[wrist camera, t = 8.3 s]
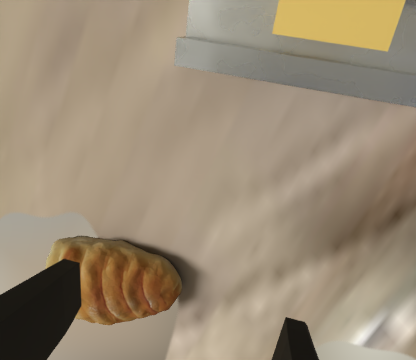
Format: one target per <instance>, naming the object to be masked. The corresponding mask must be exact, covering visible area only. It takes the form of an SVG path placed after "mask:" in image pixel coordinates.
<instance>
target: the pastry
mask: <svg viewBox="0 0 416 360" xmlns="http://www.w3.org/2000/svg"><path fill="white" fill-rule="evenodd" d="M62 259H67V260H71V261H75V262H79V263H80V280H81V303H82V306H81V308H80V309H79V311H78V313H77V315H76V317H75V318H76V319H83V320H86V321H88V322H91V323H95V322H97V323H99V324H103V325H112V324H115V323H120V322H125V321H132V320H134V319H136V318H144V317H147V316H150V315H156V314H157V313H159V312H162V311H166V310H168V309H169V308H170V307H171V306H172V304H173V303H174V302H175V300H176V299H177V297H178V296H179V295H180V293H181V291H182V282H181V278H180V276H179V274H178V273H177V271H176V270H175V268H174V267H173V266H172V264H171V263H170V262H169V261H168V260H167V259H165V258H163V257H162V256H160V255H157V254H151V253H148V252H146V251H144V250H142V249H140V248H137V247H135V246H133V245H132V244H130V243H128V242H126V241H123V240H119V241H112V240H107V239H99V237H98V238H93V237H89V236H76V237H73V238H70V237H69V238H64V239H59V240H57V241H56V242H55V243H54V244H53V245H52V247H51V251H50V254H49V256H48V258H47V260H46V268H45V269H47V268H48V267H50V266H52V265H53V264H55V263H57V262H59V261H61V260H62Z"/></svg>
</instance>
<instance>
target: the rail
mask: <svg viewBox="0 0 416 360" xmlns="http://www.w3.org/2000/svg"><path fill="white" fill-rule="evenodd" d="M278 2H279V0H189V8H188V18H187V29H186V36H185V37H177V40H176V51H175V63H174V66H180V67H186V68H192V69H198V70H203V71H209V72H215V73H221V74H226V75H232V76H238V77H244V78H250V79H255V80H261V81H267V82H273V83H279V84H284V85H290V86H296V87H302V88H307V89H313V90H319V91H325V92H331V93H336V94H342V95H348V96H354V97H359V98H365V99H371V100H377V101H383V102H388V103H394V104H400V105H406V106H411V107H416V0H406V1H405V4H404V6H403V9H402V12H401V15H400V18H399V21H398V24H397V27H396V29H395V32H394V35H393V38H392V41H391V44H390V47H389V50H388V52H387V51H381V50H374V49H368V48H361V47H355V46H348V45H342V44H335V43H329V42H322V41H316V40H309V39H303V38H296V37H290V36H284V35H277V34H272V32H273V27H274V22H275V17H276V12H277V7H278Z"/></svg>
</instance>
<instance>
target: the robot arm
mask: <svg viewBox="0 0 416 360" xmlns="http://www.w3.org/2000/svg"><path fill="white" fill-rule="evenodd" d="M81 306H82V303H81V280H80V263H79V262H75V261H71V260H67V259H62V260H61V261H59V262H57V263H55V264H53V265H52V266H50V267H48V268H47V269H45V270H43V271H42V272H40V273H38V274H36V275H35V276H33V277H31V278H29V279H28V280H26V281H24V282H22V283H21V284H19V285H17V286H15V287H14V288H12V289H10V290H8V291H6V292H5V293H3V294H1V295H0V360H47V358H48V357H49V356H50V354H51V353H52V351H53V350H54V349H55V347H56V346H57V345H58V343H59V342H60V340H61V339H62V338H63V336H64V335H65V334H66V332H67V330H68V329H69V327H70V325H71V323H72V322H73V320H74V318H75V317H76V315H77V313H78V311H79V309H80V308H81ZM272 360H319V359H318V356H317V353H316V350H315V348H314V345H313V342H312V339H311V336H310V333H309V330H308V326H307V325H306V323H305V322H302V321H298V320H295V319H291V318H287V317H286V318H285V321H284V324H283V327H282V330H281V333H280V336H279V339H278V342H277V345H276V348H275V351H274V354H273V357H272Z"/></svg>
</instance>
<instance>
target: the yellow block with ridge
mask: <svg viewBox="0 0 416 360" xmlns="http://www.w3.org/2000/svg"><path fill="white" fill-rule="evenodd" d="M405 1H406V0H279V2H278V7H277V12H276V17H275V22H274V27H273V32H272V34H277V35H284V36H290V37H296V38H303V39H309V40H316V41H322V42H329V43H335V44H342V45H348V46H355V47H361V48H368V49H374V50H381V51H387V52H388V50H389V47H390V44H391V41H392V38H393V35H394V32H395V29H396V27H397V24H398V21H399V18H400V15H401V12H402V9H403V6H404V4H405Z"/></svg>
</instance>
